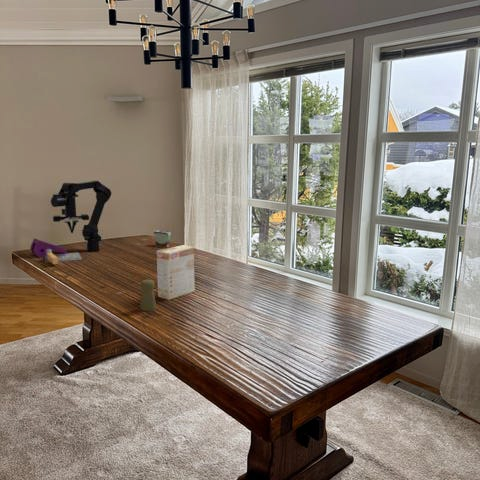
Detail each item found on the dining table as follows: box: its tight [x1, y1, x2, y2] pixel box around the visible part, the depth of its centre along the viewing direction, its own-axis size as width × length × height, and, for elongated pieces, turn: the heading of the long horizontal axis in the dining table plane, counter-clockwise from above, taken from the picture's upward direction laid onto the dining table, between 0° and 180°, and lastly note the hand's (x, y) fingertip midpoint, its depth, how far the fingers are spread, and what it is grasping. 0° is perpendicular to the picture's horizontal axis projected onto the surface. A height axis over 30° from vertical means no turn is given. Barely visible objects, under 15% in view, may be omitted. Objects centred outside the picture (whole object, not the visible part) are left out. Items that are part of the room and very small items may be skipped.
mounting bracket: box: [29, 237, 68, 258], centre depth 251 cm, size 10×8×18 cm
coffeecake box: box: [156, 244, 196, 301], centre depth 181 cm, size 15×7×20 cm, turn 141°
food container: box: [153, 229, 172, 249], centre depth 275 cm, size 12×6×10 cm, turn 58°
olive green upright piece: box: [139, 279, 157, 312], centre depth 165 cm, size 6×6×11 cm
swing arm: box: [46, 249, 59, 265], centre depth 231 cm, size 17×3×5 cm, turn 35°
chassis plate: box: [44, 252, 82, 263], centre depth 243 cm, size 18×14×1 cm
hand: (72, 232), depth 247 cm, fingers closed
